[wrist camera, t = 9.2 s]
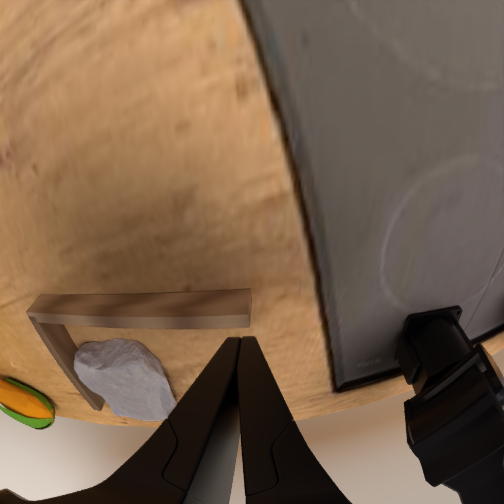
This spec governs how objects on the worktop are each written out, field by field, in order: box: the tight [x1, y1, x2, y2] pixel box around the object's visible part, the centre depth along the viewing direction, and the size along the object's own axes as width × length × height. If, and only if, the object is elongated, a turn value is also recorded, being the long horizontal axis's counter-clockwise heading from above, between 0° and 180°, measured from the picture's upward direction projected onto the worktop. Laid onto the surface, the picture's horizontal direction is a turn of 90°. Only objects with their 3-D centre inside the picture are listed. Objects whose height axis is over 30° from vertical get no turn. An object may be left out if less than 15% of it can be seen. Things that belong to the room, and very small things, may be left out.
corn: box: [0, 378, 55, 429], centre depth 33 cm, size 7×8×20 cm
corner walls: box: [26, 289, 252, 411], centre depth 26 cm, size 22×16×3 cm
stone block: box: [74, 338, 177, 421], centre depth 28 cm, size 12×5×10 cm
